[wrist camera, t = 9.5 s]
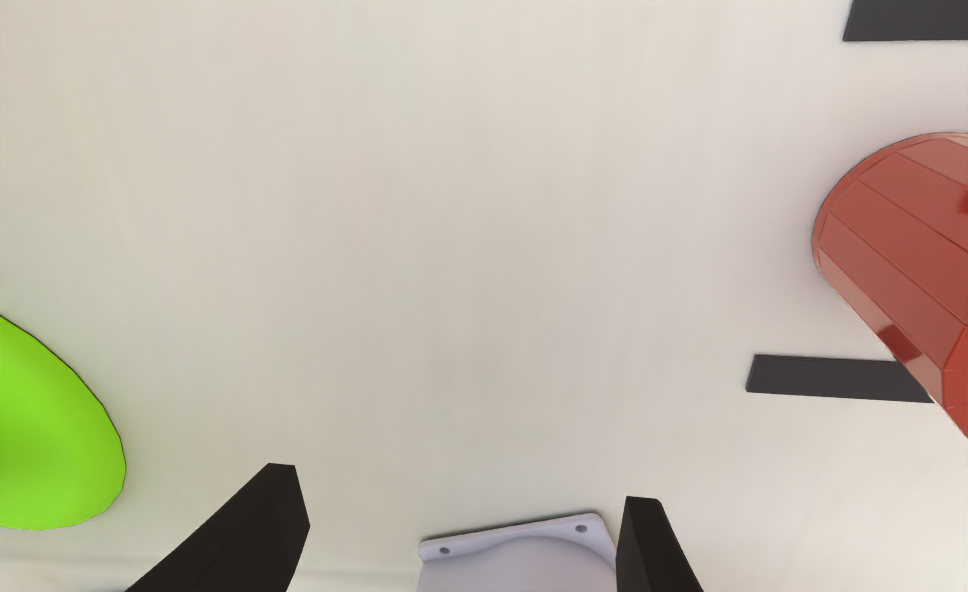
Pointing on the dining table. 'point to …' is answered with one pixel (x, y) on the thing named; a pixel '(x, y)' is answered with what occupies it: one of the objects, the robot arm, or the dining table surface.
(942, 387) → the tumbler
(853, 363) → the tape bay
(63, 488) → the wineglass
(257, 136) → the dining table surface
